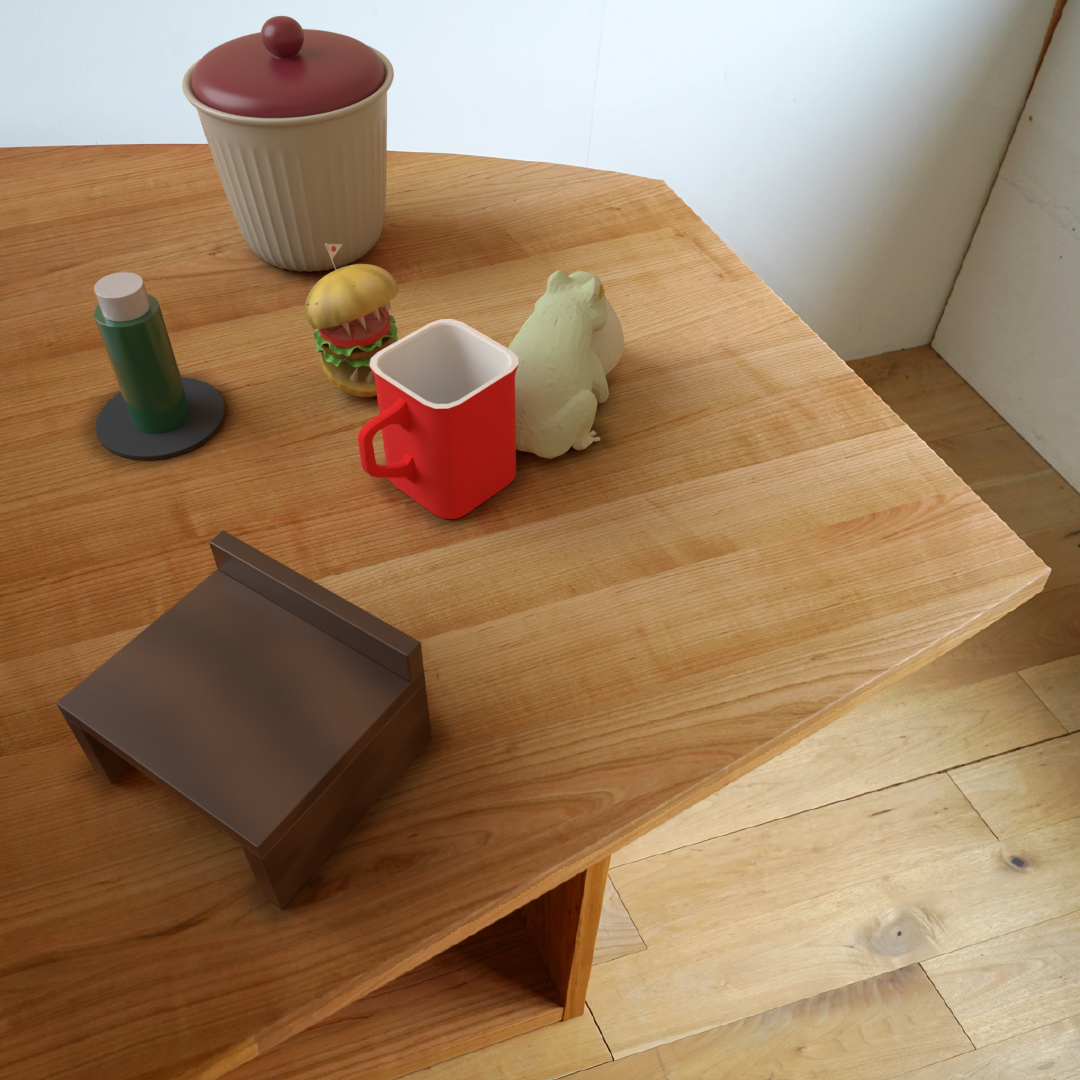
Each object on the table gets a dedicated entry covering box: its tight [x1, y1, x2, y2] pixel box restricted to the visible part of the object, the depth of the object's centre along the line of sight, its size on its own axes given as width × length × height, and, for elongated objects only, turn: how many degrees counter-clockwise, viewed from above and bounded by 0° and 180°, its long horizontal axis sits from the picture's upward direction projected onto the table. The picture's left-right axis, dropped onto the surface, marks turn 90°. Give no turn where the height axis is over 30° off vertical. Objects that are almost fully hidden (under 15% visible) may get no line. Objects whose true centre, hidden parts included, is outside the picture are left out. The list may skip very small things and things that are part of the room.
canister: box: [181, 15, 395, 273], centre depth 94 cm, size 18×18×21 cm
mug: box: [357, 318, 519, 520], centre depth 74 cm, size 12×8×11 cm
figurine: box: [507, 269, 625, 460], centre depth 82 cm, size 10×16×10 cm, turn 157°
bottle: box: [93, 271, 190, 433], centre depth 79 cm, size 5×5×12 cm
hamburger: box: [304, 243, 400, 398], centre depth 83 cm, size 8×7×12 cm
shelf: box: [56, 530, 433, 910], centre depth 58 cm, size 13×15×9 cm
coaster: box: [95, 376, 226, 461], centre depth 83 cm, size 10×10×1 cm
